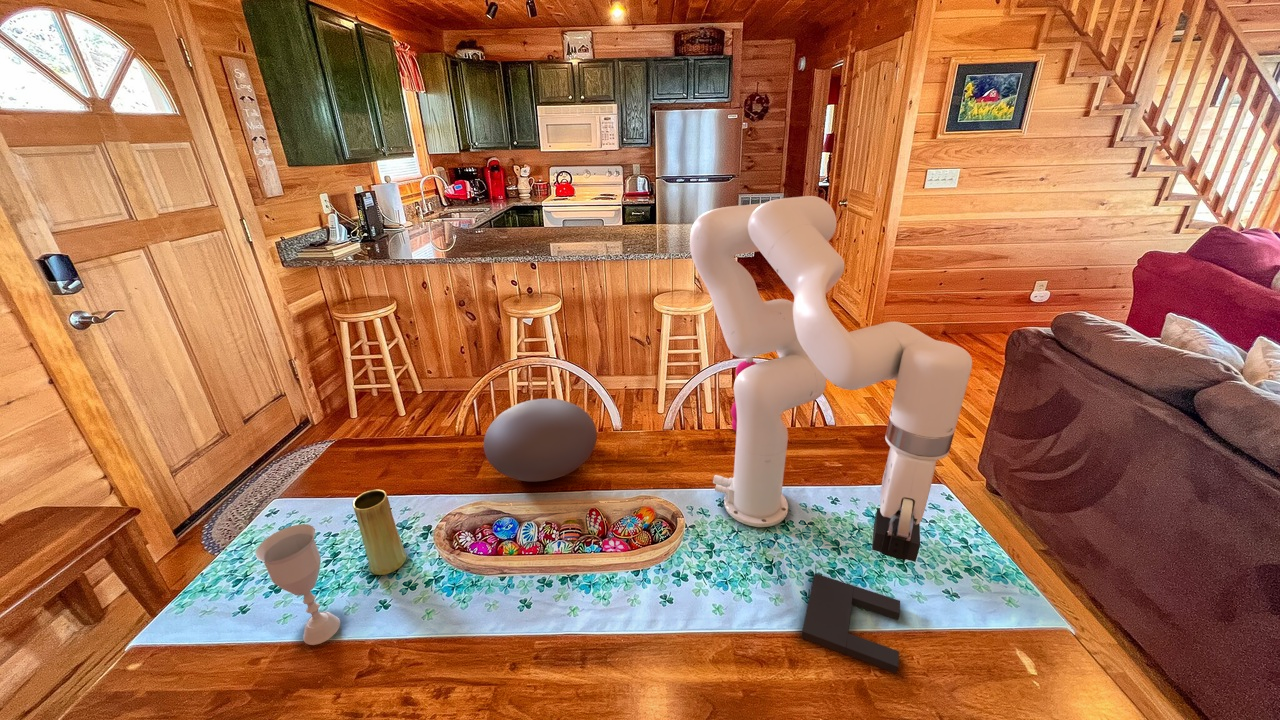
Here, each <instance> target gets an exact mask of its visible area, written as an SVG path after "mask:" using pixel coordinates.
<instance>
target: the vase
mask: <svg viewBox="0 0 1280 720" xmlns="http://www.w3.org/2000/svg"><path fill="white" fill-rule="evenodd" d="M391 507H392V506H391V503H390V499H389V497H388V494H387V492H386V491H384V490H383V489H371V490H367V491H364V492H362V493H360V494H359V495H358V496H356V497H355V498H354V499H353V502H352V508H353V510H354V514H355V517H356V521H357V524H358V528H359V531H360V535H361V539H362V543H363V546H364V550H365V554H366V557H367V561H368V569H369V571H370V572H371V573H372V574H373V575H377V576H385V575H389V574H392V573H393V572H396V571H397V570H398V569H400V568H401V567H402V566H403V565H404V564H405V562H406V560H407V558H408V557H407V556H408V555H407V553H406V551H405V548H404V545H403V542H402V539H401V536H400V534H399V531H398V527H397V525H396V522H395V518H394V515H393V512H392V508H391Z"/></svg>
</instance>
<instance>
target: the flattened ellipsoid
mask: <svg viewBox="0 0 1280 720" xmlns="http://www.w3.org/2000/svg"><path fill="white" fill-rule="evenodd" d="M597 439H598V432H597V426H596V424H595V422H594V420H593V418H592V417H591V416H590V414H589V413H588V412H587V411H586V410H585V409H583V408H582V407H580V406H578V405H577V404H575V403H573V402H569V401H566V400H563V399H559V398H535V399H530V400H525V401H522V402H519V403H516V404H514V405H513V406H511V407H508V408H507V409H504V411H502V412H501V413H500V414H498V415H497V416H496V418H494V420H493V421H492V422H491V423H490V424H489V426H488V428H487V429H486V432H485V434H484V437H483V452H484V455H485V458H486V460H487V461H488V463H489V464H490V465H491V466H492V468H494V469H495V470H496V471H497V472H498V473H500V474H502V475H504V476H506V477H507V478H510V479H513V480H516V481H522V482H529V483H531V482H532V483H533V482H534V483H535V482H536V483H537V482H548V481H551V480H556V479H559V478H563V477H565V476H566V475H569V474H571V473H573V472H574V471H576V470H577V469H579V468H580V467H582V465H584V464H585V462H586V461H587V460H589V458H591V456H592V454H593V451H594V450H595V448H596V445H597Z"/></svg>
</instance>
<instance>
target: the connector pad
mask: <svg viewBox="0 0 1280 720" xmlns="http://www.w3.org/2000/svg"><path fill="white" fill-rule="evenodd" d="M889 521H890V518H888V517H883V516H882V514H881V512H880V507H879V508H876V512H875V517H874V522H873V530H872V531H873V532H872V541H871V551H874V552H875V551H876V552H878V553H881V547H882V543H883V539H884V534H885V530H888V527H889ZM898 523H899V520H896V519H895V522H894V527H895V526H896V527H897V526H898ZM920 524H921V522H920V523H919V524H917V525H915V523H913V529H912V534H911V543H910V547H909V550H908V554H907V558H906V560H905V561H910V562H913V563H916V562H917V559H918V555H919V552H920V547H921V528H920V527H921V525H920Z"/></svg>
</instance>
